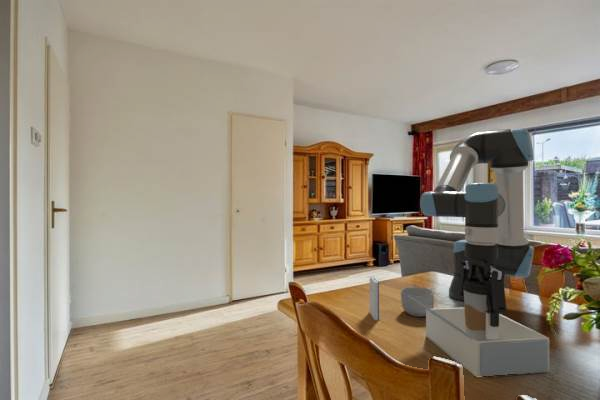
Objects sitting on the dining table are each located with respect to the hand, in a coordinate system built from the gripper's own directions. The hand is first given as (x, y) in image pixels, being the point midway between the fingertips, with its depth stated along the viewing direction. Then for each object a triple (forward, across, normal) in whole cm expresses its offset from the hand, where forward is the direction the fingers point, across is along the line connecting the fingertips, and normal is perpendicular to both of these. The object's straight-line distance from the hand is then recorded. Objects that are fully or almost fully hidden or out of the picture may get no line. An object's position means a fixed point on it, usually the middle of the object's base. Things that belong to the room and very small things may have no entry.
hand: (480, 331), depth 85 cm
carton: (+6, 0, 0) cm, 6 cm away
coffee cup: (+2, 0, 0) cm, 2 cm away
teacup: (+6, -31, -2) cm, 32 cm away
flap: (-3, 0, -9) cm, 9 cm away
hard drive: (+6, -29, -18) cm, 35 cm away
